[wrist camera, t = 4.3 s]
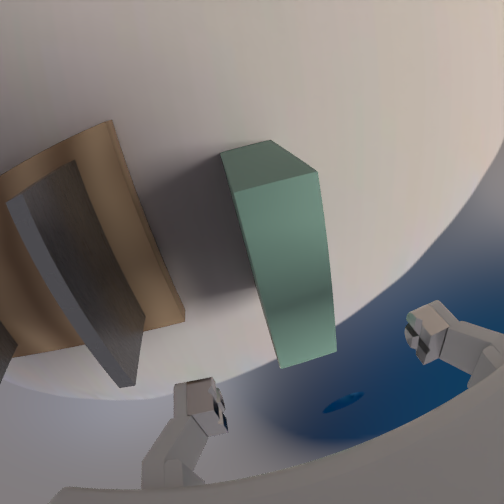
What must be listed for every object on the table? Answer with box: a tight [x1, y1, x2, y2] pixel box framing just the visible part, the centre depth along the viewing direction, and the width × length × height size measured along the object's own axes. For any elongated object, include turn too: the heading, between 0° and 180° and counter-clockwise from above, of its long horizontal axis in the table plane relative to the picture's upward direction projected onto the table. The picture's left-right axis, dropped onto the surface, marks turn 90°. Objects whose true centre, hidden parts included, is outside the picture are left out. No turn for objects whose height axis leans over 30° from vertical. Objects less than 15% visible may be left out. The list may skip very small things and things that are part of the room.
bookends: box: [0, 160, 146, 388], centre depth 17 cm, size 16×13×7 cm
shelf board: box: [0, 120, 185, 358], centre depth 20 cm, size 22×16×2 cm
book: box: [220, 140, 337, 369], centre depth 19 cm, size 4×11×9 cm, turn 13°
